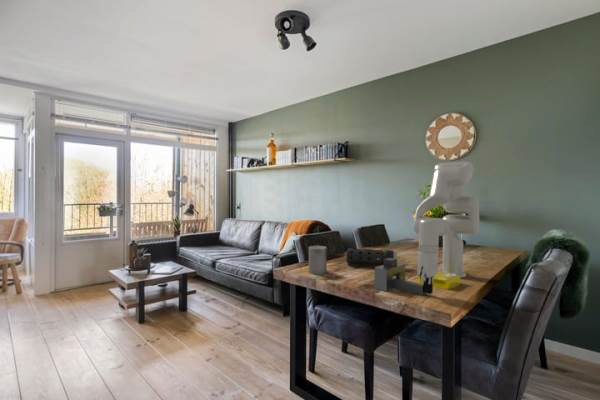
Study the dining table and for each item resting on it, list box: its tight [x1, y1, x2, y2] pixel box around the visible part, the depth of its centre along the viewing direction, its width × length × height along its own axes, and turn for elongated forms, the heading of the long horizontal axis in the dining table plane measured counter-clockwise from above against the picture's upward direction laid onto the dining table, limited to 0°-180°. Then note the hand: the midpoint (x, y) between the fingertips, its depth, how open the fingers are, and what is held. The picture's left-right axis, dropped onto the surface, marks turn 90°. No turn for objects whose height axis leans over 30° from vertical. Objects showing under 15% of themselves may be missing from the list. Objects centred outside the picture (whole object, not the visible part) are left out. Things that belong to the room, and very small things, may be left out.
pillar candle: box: [308, 244, 328, 275], centre depth 166 cm, size 10×10×15 cm
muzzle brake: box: [346, 247, 398, 267], centre depth 180 cm, size 10×28×10 cm, turn 73°
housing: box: [374, 258, 406, 292], centre depth 141 cm, size 16×6×12 cm, turn 134°
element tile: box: [417, 270, 462, 290], centre depth 147 cm, size 15×15×5 cm
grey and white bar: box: [392, 275, 427, 296], centre depth 136 cm, size 4×18×5 cm, turn 44°
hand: (427, 292), depth 128 cm, fingers closed
